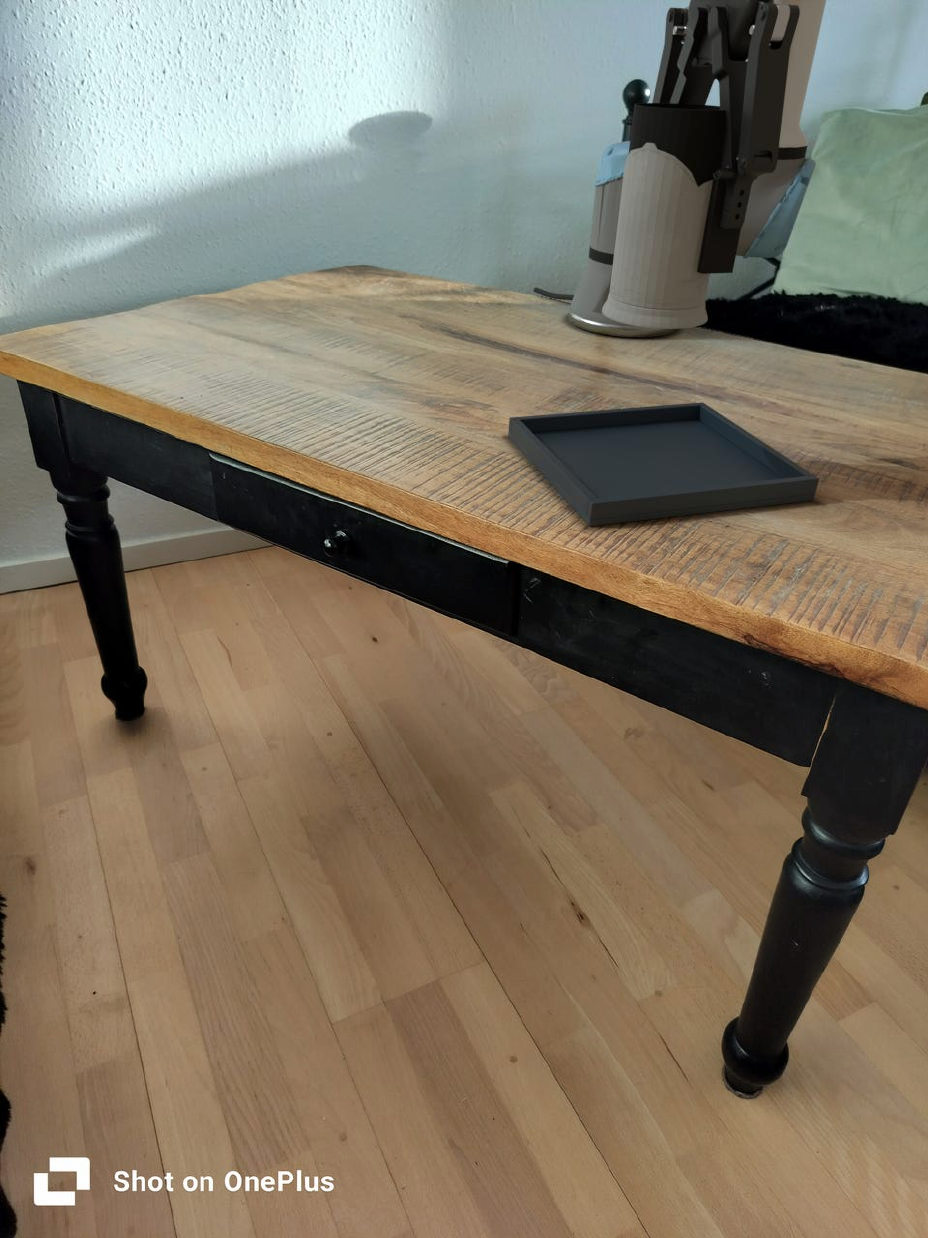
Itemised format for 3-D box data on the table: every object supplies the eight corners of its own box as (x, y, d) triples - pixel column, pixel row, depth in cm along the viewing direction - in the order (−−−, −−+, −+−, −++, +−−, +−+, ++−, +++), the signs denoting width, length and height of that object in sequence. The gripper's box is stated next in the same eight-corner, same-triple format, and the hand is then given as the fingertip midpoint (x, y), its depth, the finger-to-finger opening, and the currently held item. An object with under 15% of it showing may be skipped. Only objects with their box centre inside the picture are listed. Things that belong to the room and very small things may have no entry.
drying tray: (507, 437, 86) (509, 417, 85) (699, 421, 92) (702, 401, 90) (589, 526, 70) (592, 503, 69) (813, 500, 76) (819, 478, 75)
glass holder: (580, 311, 72) (601, 103, 64) (676, 287, 81) (706, 100, 72) (668, 335, 67) (703, 111, 59) (760, 306, 76) (803, 107, 67)
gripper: (627, -86, 66) (591, 237, 78) (792, -126, 49) (713, 292, 62) (713, -78, 68) (665, 235, 80) (900, -114, 51) (802, 288, 64)
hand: (686, 260), depth 71 cm, fingers closed on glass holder, 8 cm apart
